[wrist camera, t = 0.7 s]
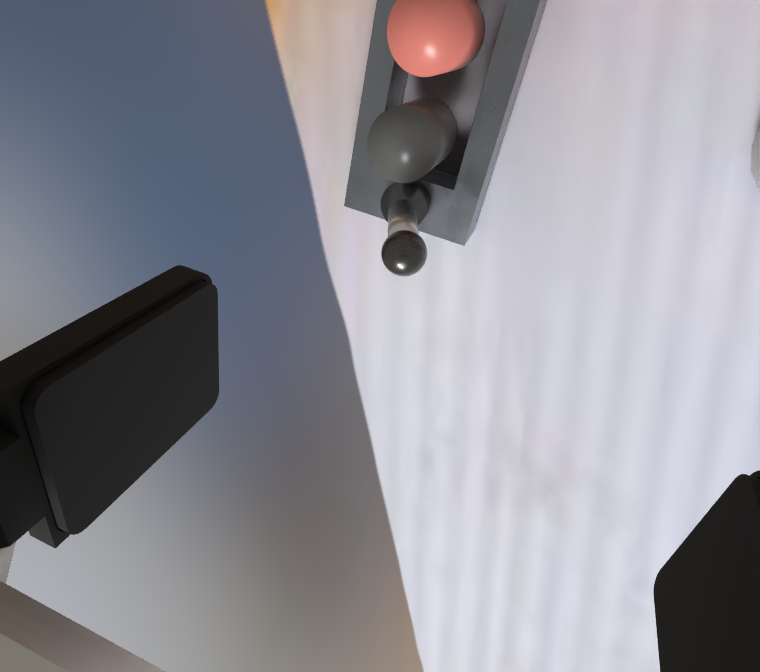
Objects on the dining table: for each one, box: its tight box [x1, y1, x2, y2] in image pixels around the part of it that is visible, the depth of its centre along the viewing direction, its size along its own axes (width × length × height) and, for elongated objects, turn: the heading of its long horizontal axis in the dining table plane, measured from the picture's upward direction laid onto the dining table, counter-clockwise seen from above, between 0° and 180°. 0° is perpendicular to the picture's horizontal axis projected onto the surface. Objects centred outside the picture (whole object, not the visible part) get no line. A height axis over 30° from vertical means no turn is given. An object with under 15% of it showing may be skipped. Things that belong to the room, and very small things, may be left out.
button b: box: [367, 98, 458, 183], centre depth 27 cm, size 4×4×4 cm
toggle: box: [381, 199, 427, 276], centre depth 27 cm, size 2×2×7 cm
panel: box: [344, 0, 547, 246], centre depth 26 cm, size 22×8×4 cm, turn 170°
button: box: [387, 0, 485, 77], centre depth 25 cm, size 4×4×4 cm
